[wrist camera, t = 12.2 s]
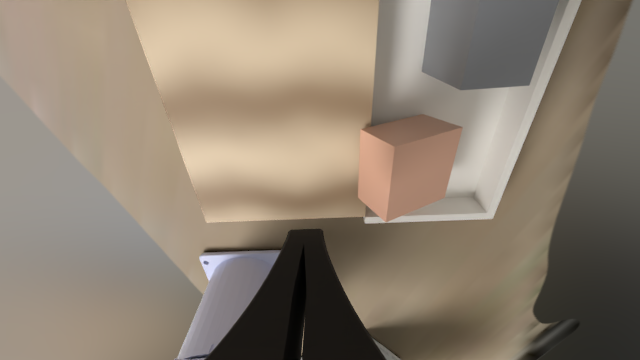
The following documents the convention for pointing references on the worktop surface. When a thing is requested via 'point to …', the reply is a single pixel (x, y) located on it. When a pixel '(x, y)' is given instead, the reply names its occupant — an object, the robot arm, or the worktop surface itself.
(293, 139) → the board
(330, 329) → the robot arm
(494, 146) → the tray
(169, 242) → the worktop surface
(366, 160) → the salmon pink block
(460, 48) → the grey block
